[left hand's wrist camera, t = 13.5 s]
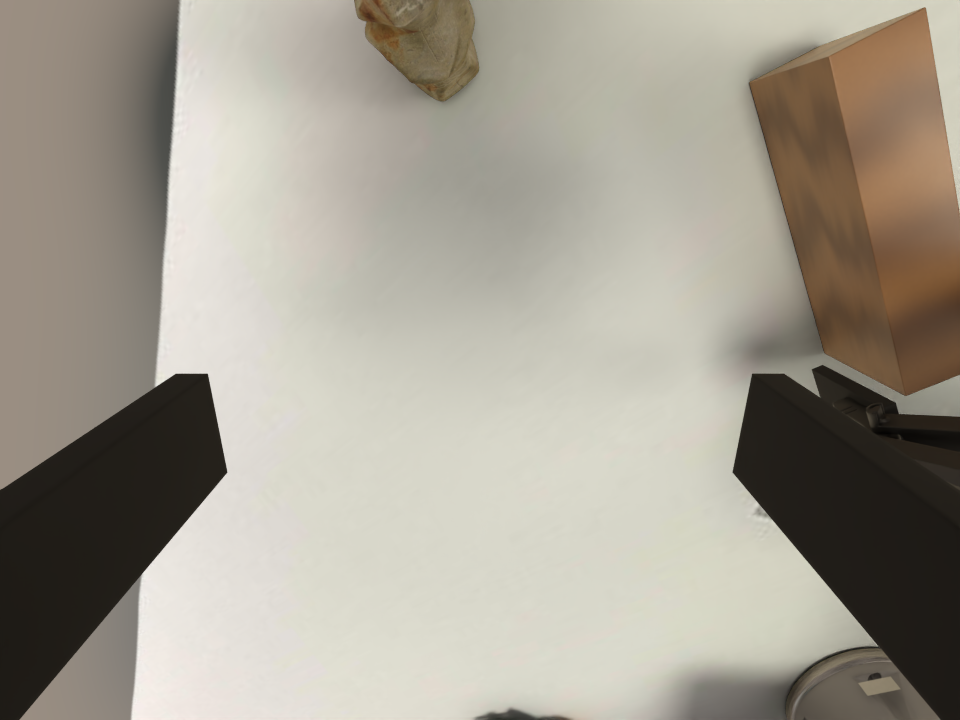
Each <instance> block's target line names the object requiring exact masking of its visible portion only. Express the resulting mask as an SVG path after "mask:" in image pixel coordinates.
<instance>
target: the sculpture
mask: <svg viewBox="0 0 960 720" xmlns="http://www.w3.org/2000/svg"><path fill="white" fill-rule="evenodd" d="M354 1H355V7H356V13H357V16H358V18H359V19H361V20H363V21H367V22H366V27H365V35H366V38H367V40H368V41H369V42H370V43H371V44H372V45H373V46H374V47H375V48H376V49H377V50H379V51H380V52H381V53H382V54H383V55H384V57H385V58H386V59H387V60H388V61H389V62H390V63H392V64H393V65H394V66H395V67H396V68H397V69H398V70H399V71H400V72H401V73H402V74H403V75H405V76H406V78H407V79H408V80H409V81H410V82H411V83H414V84H416V85H417V86H418V87H419V88H420V89H422V90H423V91H424V92H425V93H427V94H428V95H430V96H431V97H433V98H434V99H436V100H438V101H446V100H447V99H449V98H450V97H452V96H453V95H454V94H456V93H457V92H458V91H459V90H461V89H462V88H463V87H464V86H465V85H467V84H468V83H469V82H470V81H471V80H472V79H473V78H474V77H475V76H476V74H477V73H478V71H479V63H478V58H477V54H476V50H475V46H474V43H473V40H472V34H473V30H474V24H475V19H474V14H473V10H472V7H471V4H470V1H469V0H354Z"/></svg>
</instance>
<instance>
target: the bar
mask: <svg viewBox="0 0 960 720" xmlns="http://www.w3.org/2000/svg"><path fill="white" fill-rule="evenodd" d="M750 87H751V91H752V94H753V98H754V101H755V105H756V109H757V112H758V116H759V119H760V123H761V127H762V130H763V134H764V137H765V141H766V144H767V148H768V152H769V155H770V159H771V162H772V166H773V170H774V173H775V177H776V180H777V184H778V188H779V191H780V195H781V198H782V202H783V206H784V209H785V213H786V216H787V220H788V224H789V227H790V231H791V234H792V238H793V241H794V245H795V249H796V252H797V256H798V259H799V263H800V267H801V270H802V274H803V277H804V281H805V285H806V288H807V292H808V295H809V299H810V303H811V306H812V310H813V313H814V317H815V321H816V324H817V328H818V331H819V335H820V338H821V342H822V346H823V349H824V353H825V354H827V355H829V356H831V357H833V358H834V359H836V360H838V361H840V362H842V363H844V364H846V365H848V366H850V367H852V368H853V369H855V370H857V371H859V372H861V373H863V374H865V375H867V376H869V377H871V378H872V379H874V380H876V381H878V382H880V383H882V384H884V385H886V386H888V387H890V388H891V389H893V390H895V391H897V392H899V393H901V394H903V395H905V396H907V395H910V394H912V393H915V392H917V391H920V390H922V389H925V388H927V387H930V386H932V385H935V384H937V383H940V382H942V381H945V380H947V379H950V378H952V377H955V376H958V375H960V213H959V207H958V201H957V195H956V189H955V183H954V177H953V171H952V164H951V158H950V152H949V146H948V140H947V134H946V128H945V122H944V116H943V110H942V104H941V97H940V91H939V85H938V79H937V73H936V67H935V61H934V55H933V49H932V43H931V37H930V30H929V24H928V18H927V12H926V8H922V9H919V10H916V11H913V12H911V13H908V14H905V15H903V16H900V17H897V18H894V19H892V20H889V21H886V22H884V23H881V24H878V25H875V26H873V27H870V28H867V29H865V30H862V31H859V32H856V33H854V34H851V35H848V36H846V37H843V38H840V39H837V40H835V41H832V42H829V43H827V44H824V45H821V46H819V47H817V48H815V49H813V50H811V51H810V52H808V53H806V54H804V55H802V56H800V57H798V58H796V59H794V60H792V61H790V62H788V63H786V64H784V65H782V66H780V67H778V68H776V69H774V70H773V71H771V72H769V73H767V74H765V75H763V76H761V77H759V78H757V79H755V80H753V81H751V82H750Z"/></svg>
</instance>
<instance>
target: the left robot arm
mask: <svg viewBox="0 0 960 720" xmlns="http://www.w3.org/2000/svg"><path fill="white" fill-rule="evenodd" d="M226 473H227V468H226V463H225V458H224V453H223V448H222V443H221V438H220V433H219V428H218V423H217V418H216V413H215V408H214V403H213V398H212V393H211V388H210V382H209V377H208V374H175V375H173V376H172V377H170V378H169V379H167V380H166V381H164V382H163V383H161V384H160V385H158V386H157V387H155V388H154V389H152V390H151V391H149V392H148V393H146V394H145V395H143V396H142V397H140V398H139V399H137V400H136V401H134V402H133V403H131V404H130V405H128V406H127V407H125V408H124V409H122V410H121V411H119V412H118V413H116V414H115V415H113V416H112V417H110V418H109V419H107V420H106V421H104V422H103V423H101V424H100V425H98V426H97V427H95V428H94V429H92V430H91V431H89V432H88V433H86V434H85V435H83V436H82V437H80V438H79V439H77V440H76V441H74V442H73V443H71V444H69V445H68V446H67V447H65V448H63V449H62V450H60V451H59V452H57V453H56V454H54V455H53V456H51V457H50V458H48V459H47V460H45V461H44V462H42V463H41V464H39V465H38V466H36V467H35V468H33V469H32V470H30V471H29V472H27V473H26V474H24V475H23V476H21V477H20V478H18V479H17V480H15V481H14V482H12V483H11V484H9V485H8V486H6V487H5V488H3V489H1V490H0V720H19V719H20V718H21V717H22V716H23V715H24V714H25V712H26V711H27V710H28V709H29V708H30V706H31V705H32V704H33V703H34V702H35V700H36V699H37V698H38V697H39V696H40V695H41V693H42V692H43V691H44V690H45V689H46V687H47V686H48V685H49V684H50V683H51V681H52V680H53V679H54V678H55V677H56V676H57V674H58V673H59V672H60V671H61V670H62V668H63V667H64V666H65V665H66V664H67V662H68V661H69V660H70V659H71V658H72V657H73V655H74V654H75V653H76V652H77V651H78V649H79V648H80V647H81V646H82V645H83V643H84V642H85V641H86V640H87V639H88V637H89V636H90V635H91V634H92V633H93V631H94V630H95V629H96V628H97V627H98V626H99V624H100V623H101V622H102V621H103V620H104V618H105V617H106V616H107V615H108V614H109V613H110V611H111V610H112V609H113V608H114V607H115V605H116V604H117V603H118V602H119V601H120V599H121V598H122V597H123V596H124V595H125V594H126V592H127V591H128V590H129V589H130V588H131V586H132V585H133V584H134V583H135V582H136V580H137V579H138V578H139V577H140V576H141V574H142V573H143V572H144V571H145V570H146V569H147V567H148V566H149V565H150V564H151V563H152V561H153V560H154V559H155V558H156V557H157V555H158V554H159V553H160V552H161V551H162V550H163V548H164V547H165V546H166V545H167V544H168V542H169V541H170V540H171V539H172V538H173V536H174V535H175V534H176V533H177V532H178V530H179V529H180V528H181V527H182V526H183V525H184V523H185V522H186V521H187V520H188V519H189V517H190V516H191V515H192V514H193V513H194V511H195V510H196V509H197V508H198V507H199V506H200V504H201V503H202V502H203V501H204V500H205V498H206V497H207V496H208V495H209V494H210V492H211V491H212V490H213V489H214V488H215V486H216V485H217V484H218V483H219V482H220V481H221V479H222V478H223V477H224V476H225V475H226ZM733 473H734V475H735V476H736V477H737V478H738V479H739V481H740V482H741V483H742V484H743V485H744V486H745V488H746V489H747V490H748V491H749V492H750V494H751V495H752V496H753V497H754V498H755V500H756V501H757V502H758V503H759V504H760V506H761V507H762V508H763V509H764V510H765V511H766V513H767V514H768V515H769V516H770V517H771V519H772V520H773V521H774V522H775V523H776V525H777V526H778V527H779V528H780V529H781V530H782V532H783V533H784V534H785V535H786V536H787V538H788V539H789V540H790V541H791V542H792V544H793V545H794V546H795V547H796V548H797V550H798V551H799V552H800V553H801V554H802V555H803V557H804V558H805V559H806V560H807V561H808V563H809V564H810V565H811V566H812V567H813V569H814V570H815V571H816V572H817V573H818V574H819V576H820V577H821V578H822V579H823V580H824V582H825V583H826V584H827V585H828V586H829V588H830V589H831V590H832V591H833V592H834V594H835V595H836V596H837V597H838V598H839V599H840V601H841V602H842V603H843V604H844V605H845V607H846V608H847V609H848V610H849V611H850V613H851V614H852V615H853V616H854V617H855V618H856V620H857V621H858V622H859V623H860V624H861V626H862V627H863V628H864V629H865V630H866V632H867V633H868V634H869V635H870V636H871V637H872V639H873V640H874V641H875V642H876V643H877V645H878V646H879V647H880V648H881V649H882V651H883V652H884V653H885V654H886V655H887V657H888V658H889V659H890V660H891V661H892V662H893V664H894V665H895V666H896V667H897V668H898V670H899V671H900V672H901V673H902V674H903V676H904V677H905V678H906V679H907V680H908V681H909V683H910V684H911V685H912V686H913V687H914V689H915V690H916V691H917V692H918V693H919V695H920V696H921V697H922V698H923V699H924V701H925V702H926V703H927V704H928V705H929V706H930V708H931V709H932V710H933V711H934V712H935V714H936V715H937V716H938V717H939V718H940V720H960V487H958V486H955V485H953V484H951V483H949V482H946V481H945V480H943V479H942V478H940V477H939V476H937V475H936V474H934V473H933V472H931V471H930V470H928V469H927V468H925V467H924V466H922V465H921V464H919V463H918V462H916V461H915V460H913V459H912V458H910V457H909V456H907V455H906V454H904V453H903V452H901V451H900V450H898V449H897V448H895V447H894V446H892V445H891V444H889V443H888V442H886V441H884V440H883V439H881V438H880V437H878V436H877V435H875V434H874V433H872V432H871V431H869V430H868V429H866V428H865V427H863V426H862V425H860V424H859V423H857V422H856V421H854V420H853V419H851V418H850V417H848V416H847V415H845V414H844V413H842V412H841V411H839V410H838V409H836V408H835V407H833V406H832V405H830V404H829V403H827V402H826V401H824V400H823V399H821V398H820V397H818V396H817V395H815V394H814V393H812V392H811V391H809V390H808V389H806V388H805V387H803V386H802V385H800V384H799V383H797V382H796V381H794V380H793V379H791V378H790V377H788V376H787V375H785V374H752V377H751V382H750V388H749V393H748V398H747V403H746V408H745V413H744V418H743V423H742V428H741V433H740V438H739V443H738V448H737V453H736V458H735V463H734V468H733Z"/></svg>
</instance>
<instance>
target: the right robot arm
mask: <svg viewBox="0 0 960 720" xmlns="http://www.w3.org/2000/svg"><path fill="white" fill-rule="evenodd" d="M812 372H813V375H814V378H815V381H816V385H817V388H818V391H819V394H820V397H821V399H823V400H824V401H826V402H827V403H829V404H830V405H832V406H833V407H835V408H836V409H838V410H839V411H841V412H842V413H844V414H845V415H847V416H848V417H850V418H851V419H853V420H854V421H856V422H857V423H859V424H860V425H862V426H863V427H865V428H866V429H868V430H869V431H871V432H872V433H874V434H875V435H877V436H878V437H880V438H881V439H883V440H884V441H886V442H888V443H889V444H891V445H892V446H894V447H895V448H897V449H898V450H900V451H901V452H903V453H904V454H906V455H907V456H909V457H910V458H912V459H913V460H915V461H916V462H918V463H919V464H921V465H922V466H924V467H925V468H927V469H928V470H930V471H931V472H933V473H934V474H936V475H937V476H939V477H940V478H942V479H943V480H945V481H946V482H949V483H951V484H953V485H955V486H958V487H960V417H950V416H928V415H907V414H898V410H897V406H896V403H895V402H893V401H891V400H889V399H887V398H885V397H883V396H881V395H879V394H877V393H876V392H874V391H872V390H870V389H868V388H866V387H864V386H862V385H860V384H858V383H856V382H854V381H852V380H851V379H849V378H847V377H845V376H843V375H841V374H839V373H837V372H835V371H833V370H831V369H829V368H827V367H826V366H824V365H821V366H819V367H817V368H814V369H812ZM786 715H787V719H788V720H940V718H939V717H938V716H937V715H936V714H935V712H934V711H933V710H932V709H931V708H930V706H929V705H928V704H927V703H926V702H925V701H924V699H923V698H922V697H921V696H920V695H919V693H918V692H917V691H916V690H915V689H914V687H913V686H912V685H911V684H910V683H909V681H908V680H907V679H906V678H905V677H904V676H903V674H902V673H901V672H900V671H899V670H898V668H897V667H896V666H895V665H894V664H893V662H892V661H891V660H890V659H889V658H888V657H887V655H886V654H885V653H884V652H883V651H882V649H880V648H867V649H858V650H852V651H848V652H844V653H841V654H838V655H835V656H833V657H830V658H828V659H826V660H824V661H822V662H820V663H818V664H817V665H815V666H814V667H812V668H811V669H810V670H808V671H807V672H806V673H805V674H804V675H802V676H801V677H800V679H799V680H798V681H797V682H796V683H795V685H794V686H793V688H792V689H791V691H790V693H789V695H788V698H787V702H786Z"/></svg>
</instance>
